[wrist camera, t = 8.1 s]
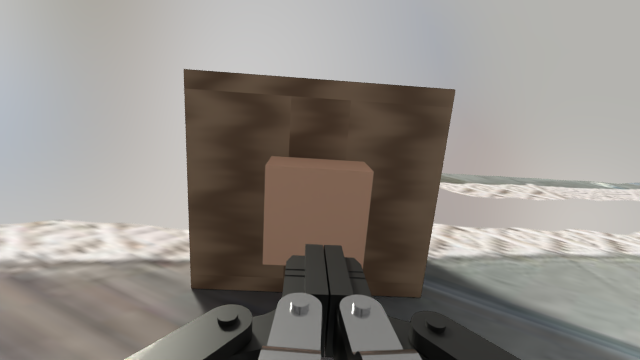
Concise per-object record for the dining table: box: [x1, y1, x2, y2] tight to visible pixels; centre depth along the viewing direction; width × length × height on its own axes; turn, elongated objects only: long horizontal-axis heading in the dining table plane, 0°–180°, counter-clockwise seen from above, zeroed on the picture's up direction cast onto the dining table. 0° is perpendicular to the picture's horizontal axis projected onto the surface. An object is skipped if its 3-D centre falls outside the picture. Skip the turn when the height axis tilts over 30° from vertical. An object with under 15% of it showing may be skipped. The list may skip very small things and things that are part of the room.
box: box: [184, 69, 455, 297], centre depth 27 cm, size 18×10×16 cm, turn 93°
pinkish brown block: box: [263, 156, 374, 269], centre depth 22 cm, size 6×9×6 cm, turn 3°
